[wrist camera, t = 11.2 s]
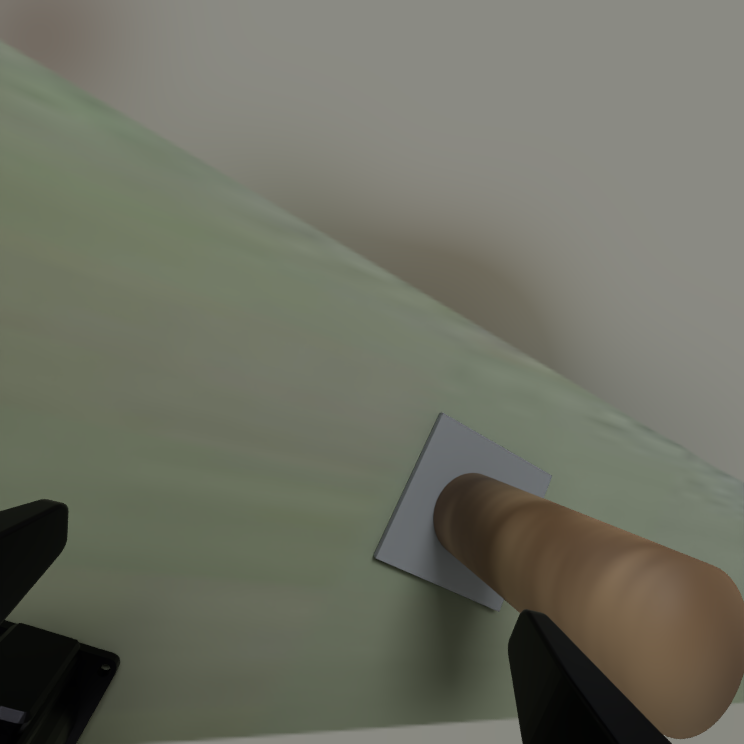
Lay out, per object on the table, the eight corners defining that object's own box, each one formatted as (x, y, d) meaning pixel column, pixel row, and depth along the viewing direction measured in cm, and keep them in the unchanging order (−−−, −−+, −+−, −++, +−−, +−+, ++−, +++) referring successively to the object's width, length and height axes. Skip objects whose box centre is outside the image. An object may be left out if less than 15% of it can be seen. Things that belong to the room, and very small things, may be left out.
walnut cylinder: (458, 574, 22) (677, 777, 11) (418, 506, 22) (606, 644, 10) (518, 522, 24) (768, 653, 12) (482, 456, 23) (710, 529, 12)
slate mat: (495, 608, 23) (499, 611, 23) (373, 555, 21) (375, 558, 21) (547, 474, 25) (552, 475, 25) (440, 412, 23) (443, 412, 22)
